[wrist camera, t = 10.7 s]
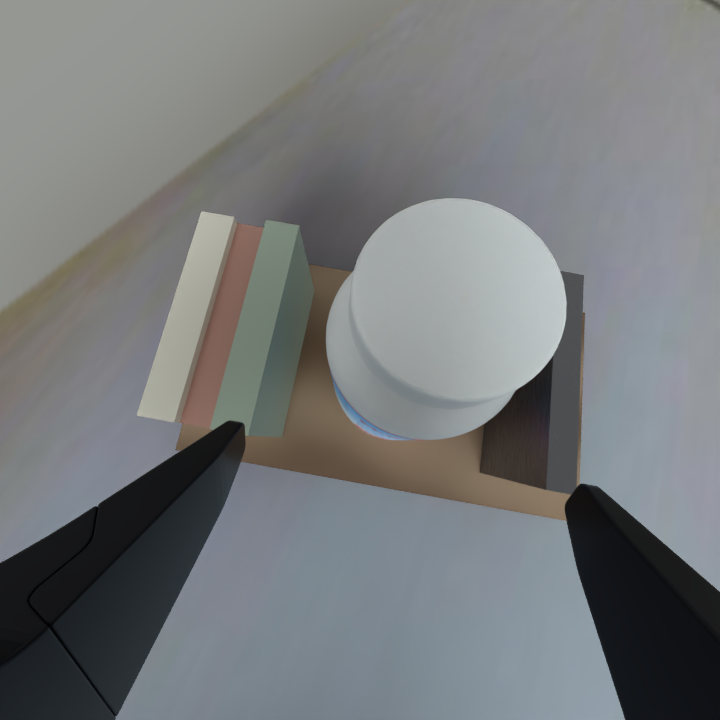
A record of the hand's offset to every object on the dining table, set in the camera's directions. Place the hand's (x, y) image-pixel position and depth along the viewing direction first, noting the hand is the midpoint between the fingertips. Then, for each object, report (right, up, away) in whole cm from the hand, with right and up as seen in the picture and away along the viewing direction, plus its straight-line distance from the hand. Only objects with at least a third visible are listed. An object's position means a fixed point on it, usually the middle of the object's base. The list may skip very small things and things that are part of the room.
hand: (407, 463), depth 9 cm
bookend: (+7, +1, +9) cm, 11 cm away
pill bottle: (0, +2, +9) cm, 9 cm away
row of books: (-6, +3, +9) cm, 11 cm away
